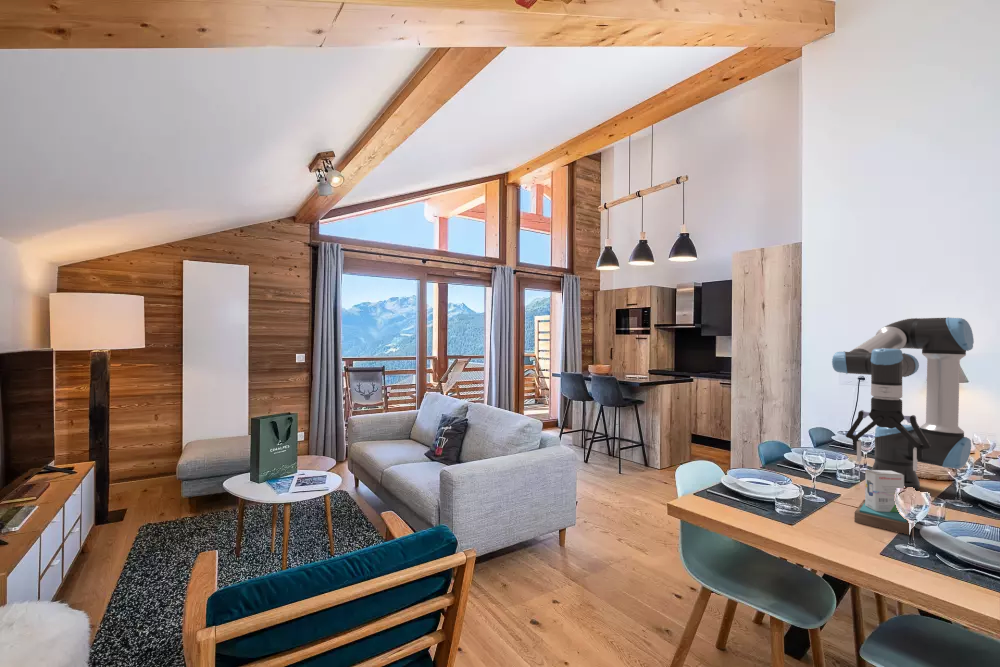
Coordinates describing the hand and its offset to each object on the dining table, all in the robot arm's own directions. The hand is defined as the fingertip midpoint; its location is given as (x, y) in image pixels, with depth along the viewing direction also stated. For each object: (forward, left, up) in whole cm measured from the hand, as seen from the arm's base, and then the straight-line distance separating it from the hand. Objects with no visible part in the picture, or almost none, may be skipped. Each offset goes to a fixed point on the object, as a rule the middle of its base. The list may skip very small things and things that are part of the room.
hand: (886, 465), depth 145 cm
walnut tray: (0, 0, -18) cm, 18 cm away
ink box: (0, 0, -14) cm, 14 cm away
